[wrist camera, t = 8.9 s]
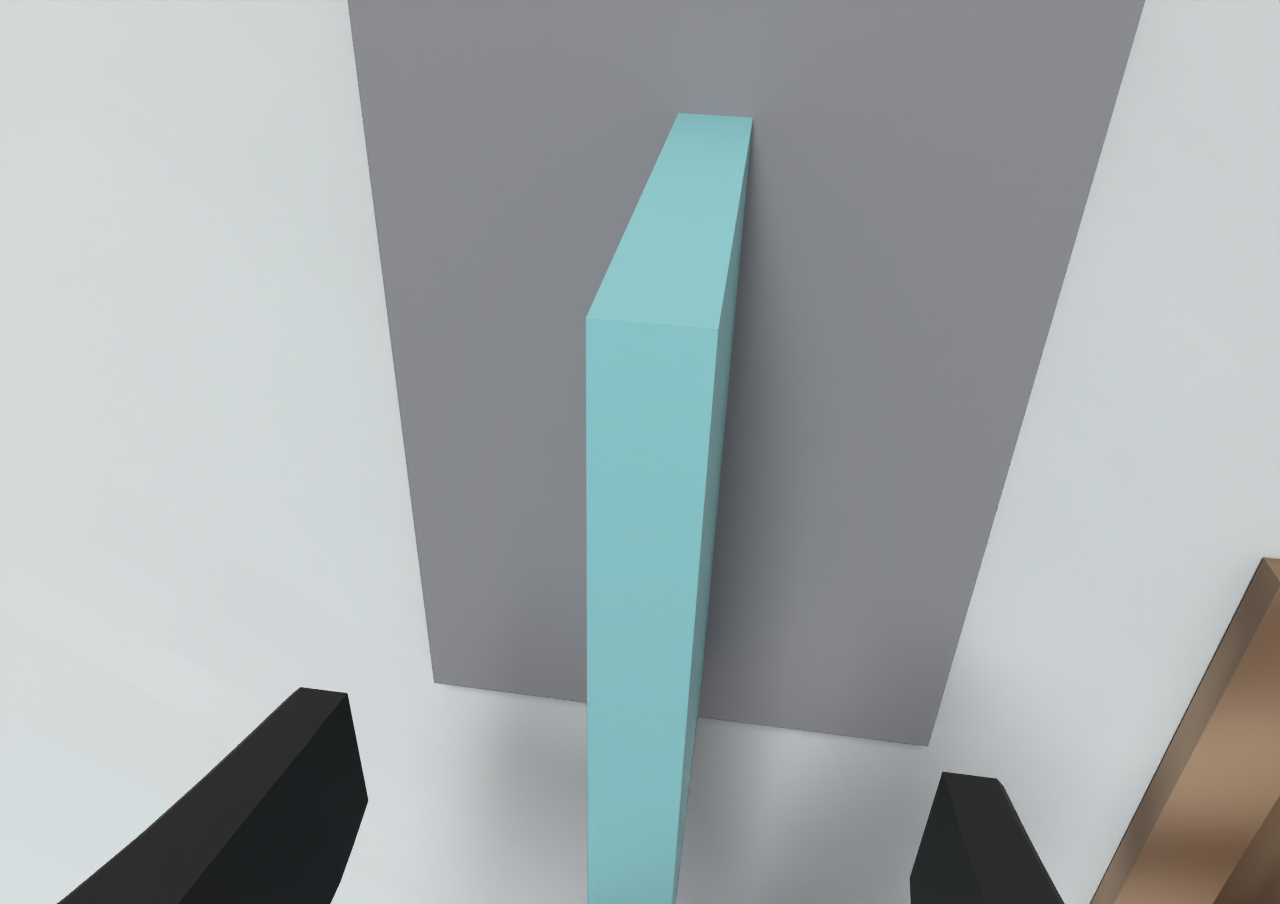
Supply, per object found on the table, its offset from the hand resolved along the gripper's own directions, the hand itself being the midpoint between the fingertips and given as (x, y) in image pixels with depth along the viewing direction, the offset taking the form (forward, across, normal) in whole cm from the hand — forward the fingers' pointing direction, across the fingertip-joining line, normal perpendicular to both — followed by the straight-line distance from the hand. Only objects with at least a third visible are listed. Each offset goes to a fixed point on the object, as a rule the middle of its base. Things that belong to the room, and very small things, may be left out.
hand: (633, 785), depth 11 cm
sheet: (+8, 0, 0) cm, 8 cm away
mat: (+9, 0, 0) cm, 9 cm away
